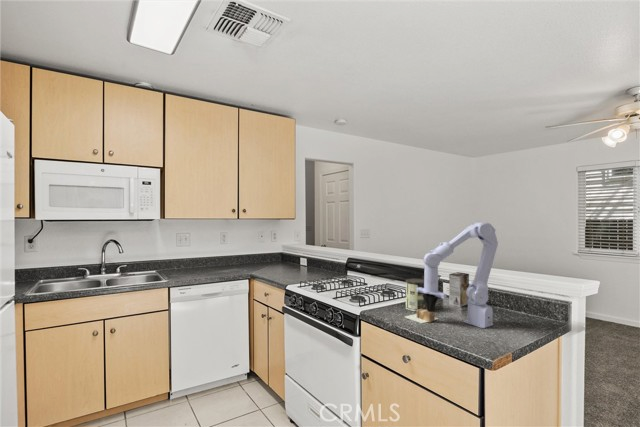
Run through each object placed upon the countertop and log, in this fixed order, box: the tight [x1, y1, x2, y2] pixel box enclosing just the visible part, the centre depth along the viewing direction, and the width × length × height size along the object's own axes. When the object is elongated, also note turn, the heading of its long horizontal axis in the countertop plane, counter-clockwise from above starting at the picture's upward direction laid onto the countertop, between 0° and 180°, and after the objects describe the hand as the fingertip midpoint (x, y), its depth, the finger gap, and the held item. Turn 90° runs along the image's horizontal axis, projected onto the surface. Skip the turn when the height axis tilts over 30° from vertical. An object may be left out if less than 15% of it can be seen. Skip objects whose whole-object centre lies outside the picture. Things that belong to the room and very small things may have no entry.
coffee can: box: [405, 277, 427, 312], centre depth 170 cm, size 10×10×14 cm
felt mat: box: [404, 313, 439, 324], centre depth 155 cm, size 10×11×1 cm
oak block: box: [416, 309, 436, 323], centre depth 153 cm, size 4×4×7 cm
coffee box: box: [448, 271, 470, 308], centre depth 178 cm, size 9×6×16 cm
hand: (430, 311), depth 150 cm, fingers closed
